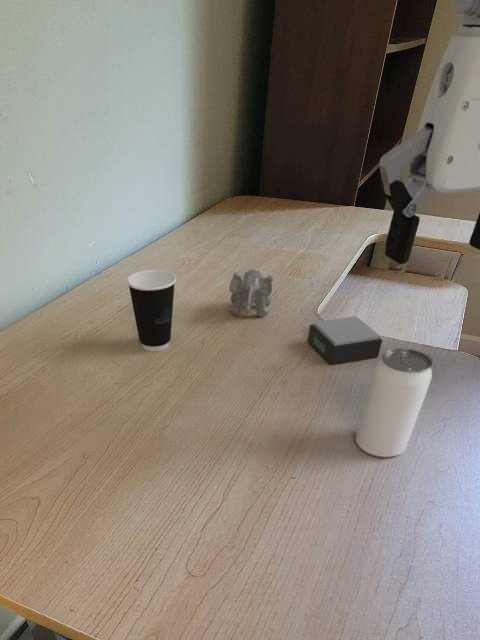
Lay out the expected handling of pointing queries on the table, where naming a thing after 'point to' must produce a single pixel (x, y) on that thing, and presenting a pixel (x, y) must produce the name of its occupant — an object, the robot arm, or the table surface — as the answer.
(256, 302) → the elephant statuette
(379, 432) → the can
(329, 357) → the scale
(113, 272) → the table surface
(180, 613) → the table surface
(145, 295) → the dixie cup
